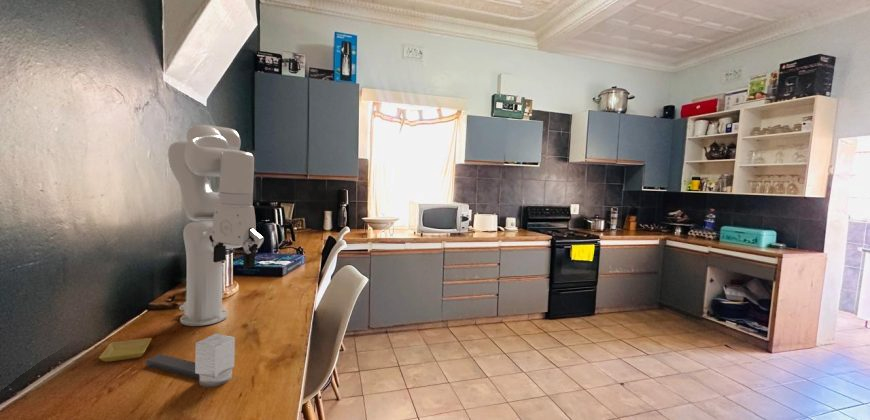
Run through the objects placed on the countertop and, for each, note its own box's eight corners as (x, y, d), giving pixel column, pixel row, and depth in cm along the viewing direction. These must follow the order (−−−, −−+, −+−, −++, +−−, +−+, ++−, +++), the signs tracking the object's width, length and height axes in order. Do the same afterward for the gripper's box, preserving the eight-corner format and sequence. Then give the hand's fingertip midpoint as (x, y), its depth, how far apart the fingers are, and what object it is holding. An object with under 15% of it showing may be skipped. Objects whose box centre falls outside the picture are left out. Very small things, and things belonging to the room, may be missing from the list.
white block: (195, 373, 80) (195, 342, 79) (215, 361, 85) (216, 333, 84) (214, 377, 78) (215, 347, 78) (234, 366, 84) (234, 337, 83)
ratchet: (139, 369, 84) (139, 347, 83) (166, 357, 90) (166, 336, 89) (215, 389, 78) (215, 365, 77) (238, 374, 84) (238, 352, 84)
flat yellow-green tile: (144, 359, 89) (144, 351, 88) (98, 366, 85) (98, 357, 84) (152, 345, 96) (152, 337, 96) (110, 350, 92) (110, 342, 92)
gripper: (196, 196, 90) (195, 262, 92) (252, 204, 85) (249, 273, 87) (222, 195, 97) (220, 256, 99) (274, 202, 93) (271, 266, 95)
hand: (233, 264), depth 93 cm, fingers open, 9 cm apart
